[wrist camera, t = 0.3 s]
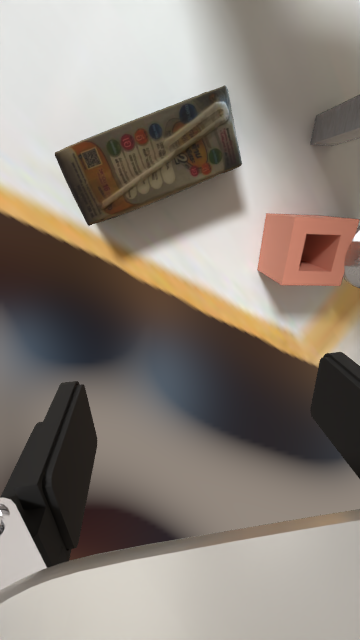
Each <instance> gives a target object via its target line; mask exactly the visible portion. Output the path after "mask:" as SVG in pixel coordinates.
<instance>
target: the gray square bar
mask: <svg viewBox="0 0 360 640" xmlns="http://www.w3.org/2000/svg"><path fill="white" fill-rule="evenodd" d="M358 138H360V95H358V96H356V97H354V98H352V99H350V100H348V101H346V102H344V103H342V104H340V105H338V106H336V107H333V108H331V109H329V110H327V111H325V112H323V113H321V114H319V115H317V116H316V119H315V124H314V129H313V134H312V139H311V144H314V145H328V146H333V145H337V144H340V143H344V142H347V141H351V140H354V139H358Z"/></svg>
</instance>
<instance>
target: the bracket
mask: <svg viewBox="0 0 360 640" xmlns="http://www.w3.org/2000/svg"><path fill="white" fill-rule="evenodd" d="M359 220H360V219H350V218H340V217H329V216H317V215H292V214H267V213H266V219H265V225H264V231H263V238H262V244H261V250H260V257H259V263H258V269H257V270H258V271H260V272H261V273H263V274H264V275H266V276H268V277H269V278H271V279H272V280H274V281H276V282H277V283H279V284H280V285H322V286H340V285H341V282H342V278H343V275H344V271H345V269H344V266H345V265H347V266H349V263H348V264H347V263H346V264H345V265H344V263H345V261H348V260H349V259H348V260H346V257H348V256H346V253H347V252H348V250H349V253H348V255H349V257H348V258H350V257H352V256H354V255H355V254H354V252H355V251H354V250H355V249H356V250H358V249H359V250H360V246H359V242H358V244H357V242H356V245H357V246H359V248H358V247H357V246H356V247H357V248H355V243H353V241H352V240H353V238H354V237H355V234H356V230H357V227H358V223H359ZM351 242H352V243H351ZM352 244H354V245H352ZM350 245H352V246H354V248H355V249H354V248H353V247H350ZM349 248H352V249H353V252H352V251H351V252H352V253H353V254H354V255H351V254H352V253H351V252H350V250H352V249H349ZM350 255H351V256H350ZM359 256H360V255H359ZM356 258H359V257H357V254H356ZM356 258H355V257H354V259H356ZM352 259H353V257H352V258H350V260H349V261H348V262H351V264H352V261H351V260H352ZM354 259H353V260H354ZM358 261H359V260H358ZM356 262H357V261H356ZM357 264H358V263H357ZM359 264H360V262H359ZM354 265H356V263H355V264H354V263H353V265H351V266H354ZM356 266H357V265H356ZM358 266H359V265H358ZM345 267H346V266H345Z"/></svg>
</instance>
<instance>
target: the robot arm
mask: <svg viewBox="0 0 360 640" xmlns="http://www.w3.org/2000/svg"><path fill="white" fill-rule="evenodd" d="M311 415H312V417H313V419H314V420H315V421H316V423H317V424H318V425H319V427H320V428H321V429H322V430H323V432H324V433H325V434H326V436H327V437H328V438H329V439H330V441H331V442H332V443H333V445H334V446H335V447H336V449H337V450H338V451H339V452H340V453H341V455H342V456H343V458H344V459H345V460H346V462H347V463H348V464H349V465H350V467H351V468H352V469H353V471H354V472H355V473H356V475H357V476H358V477H359V478H360V366H359V365H358V364H356V363H355V362H354V361H353V360H351V359H350V358H349V357H347V356H346V355H345V354H343V353H342V352H336V353H327V354H325V355H324V357H323V358H321V359H320V363H319V368H318V374H317V379H316V384H315V389H314V394H313V399H312V404H311ZM96 448H97V436H96V431H95V427H94V423H93V419H92V415H91V411H90V407H89V402H88V398H87V394H86V390H85V387H84V385H79V382H78V381H74V382H65V383H61V384H60V386H59V388H58V391H57V393H56V395H55V397H54V399H53V401H52V404H51V406H50V408H49V410H48V412H47V415H46V417H45V419H44V421H43V422H39V423H37V424H36V426H35V427H34V429H33V431H32V433H31V435H30V437H29V439H28V441H27V443H26V446H25V448H24V450H23V452H22V454H21V456H20V458H19V460H18V462H17V464H16V466H15V468H14V470H13V472H12V474H11V477H10V479H9V481H8V483H7V485H6V487H5V489H4V491H3V493H2V495H1V497H0V640H360V509H357V510H351V511H345V512H339V513H332V514H326V515H320V516H314V517H308V518H302V519H296V520H289V521H283V522H278V523H271V524H265V525H259V526H253V527H247V528H242V529H235V530H230V531H224V532H218V533H212V534H207V535H201V536H195V537H189V538H184V539H177V540H171V541H166V542H160V543H154V544H148V545H143V546H138V547H133V548H128V549H122V550H117V551H112V552H107V553H102V554H96V555H92V556H88V557H84V558H79V559H75V560H71V561H69V558H70V553H71V549H73V548H76V547H77V545H78V541H79V537H80V531H81V526H82V520H83V516H84V510H85V505H86V500H87V495H88V489H89V484H90V479H91V474H92V469H93V464H94V459H95V454H96Z"/></svg>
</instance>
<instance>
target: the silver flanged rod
mask: <svg viewBox="0 0 360 640" xmlns="http://www.w3.org/2000/svg"><path fill="white" fill-rule="evenodd" d="M352 241H353V243H355V248H357V247H358V248H359V246H360V226H359V227H358V228H357V230H356V234H355V237H354V238H353V240H352ZM356 242H357V244H358V242H359V246H357V245H356ZM351 243H352V242H351ZM352 245H354V244H352ZM352 245H350V247H353V248H354V246H352ZM356 246H357V247H356ZM355 248H354V249H355ZM349 249H352V248H349ZM351 251H352V252H353V249H352V250H350V252H351ZM354 251H355V252H354V254H355V255H354V254H353V253H352V252H351V253H352V254H351V255H354V256H352V257H353V259H354V257H355V258H356V254H357V257H359V258H356V259H354V260H353V259H352V260H351V261H352V264H351V262H348V261H349V260H350V258H352V257H350V258H348V257H349V255H348V253H349V250H348V252H347V253H346V256H348V257H346V260H348V259H349V260H348V261H345V263H344V265H345V264H346V263H347V264H348V263H349V266H347V265H345V266H346V267H345V266H344V269H345V271H344V275H343V277H344V279H345V280H346V281H347V282H348V283H349V284H351V285H353V286H355V287H358V288H360V264H359V262H360V256H359V255H360V250H359V249H358V250H356V249H355V250H354ZM351 255H350V256H351ZM358 260H359V261H358ZM356 261H357V262H356ZM353 263H354V264H355V263H356V265H357V266H356V265H354V266H351V265H353ZM357 263H358V264H357ZM358 265H359V266H358Z"/></svg>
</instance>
